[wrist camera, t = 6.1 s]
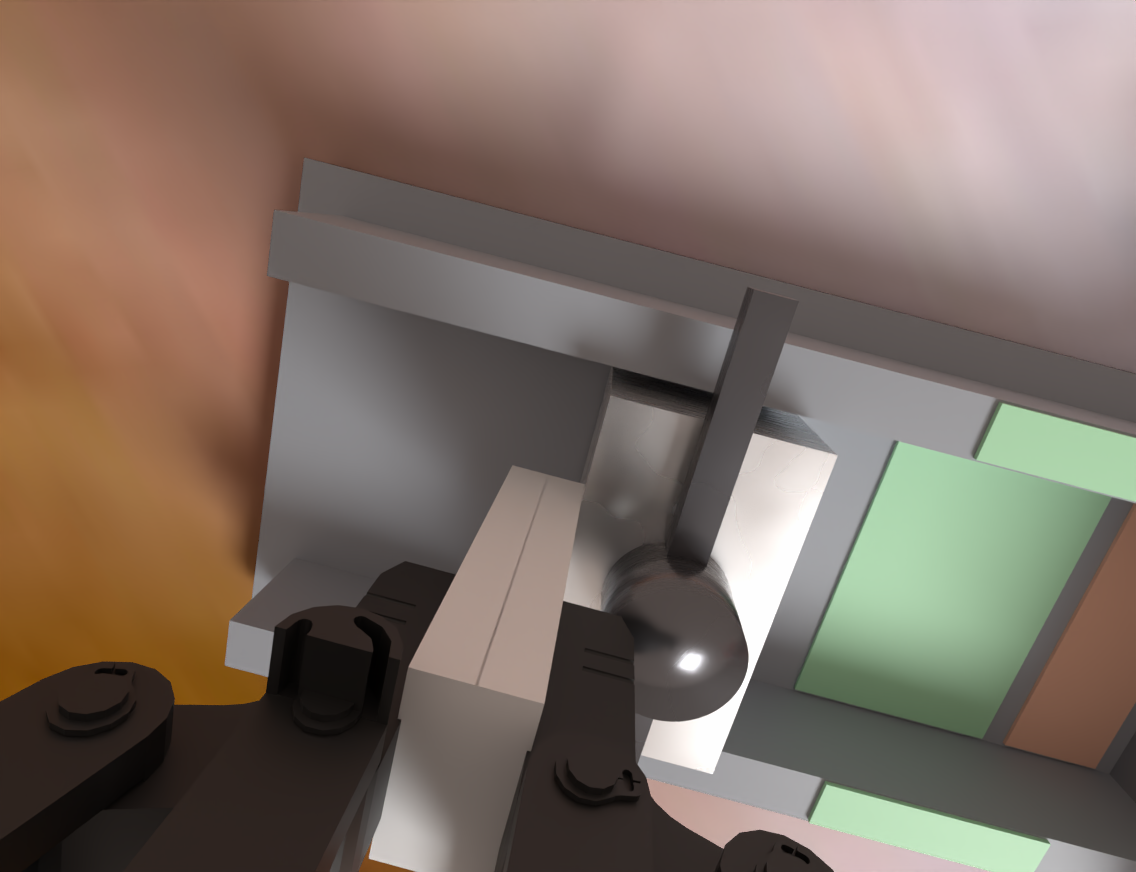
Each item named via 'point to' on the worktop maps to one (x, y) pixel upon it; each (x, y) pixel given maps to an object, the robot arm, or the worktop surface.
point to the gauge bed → (832, 545)
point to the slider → (697, 530)
